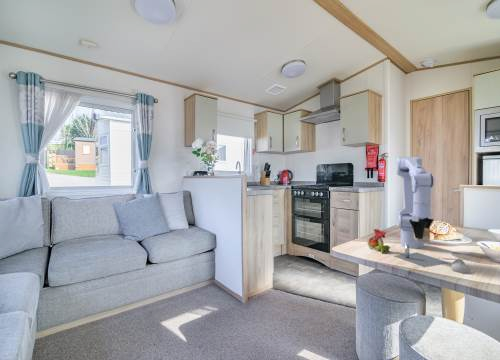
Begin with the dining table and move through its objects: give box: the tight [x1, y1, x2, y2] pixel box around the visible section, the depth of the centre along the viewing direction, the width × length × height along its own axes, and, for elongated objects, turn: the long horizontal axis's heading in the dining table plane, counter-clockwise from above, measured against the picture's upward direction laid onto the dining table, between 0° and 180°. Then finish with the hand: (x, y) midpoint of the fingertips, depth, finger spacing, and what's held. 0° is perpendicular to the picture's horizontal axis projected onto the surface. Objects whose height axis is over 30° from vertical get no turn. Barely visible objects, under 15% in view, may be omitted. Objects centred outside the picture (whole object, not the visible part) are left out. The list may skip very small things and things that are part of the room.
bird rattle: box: [367, 228, 391, 254], centre depth 109 cm, size 6×11×9 cm
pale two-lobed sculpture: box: [450, 258, 471, 274], centre depth 86 cm, size 4×8×5 cm
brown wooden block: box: [414, 228, 431, 243], centre depth 96 cm, size 5×5×4 cm
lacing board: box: [393, 252, 450, 268], centre depth 97 cm, size 14×13×1 cm
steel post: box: [404, 244, 410, 258], centre depth 98 cm, size 2×2×6 cm
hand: (421, 237), depth 96 cm, fingers closed on brown wooden block, 5 cm apart
